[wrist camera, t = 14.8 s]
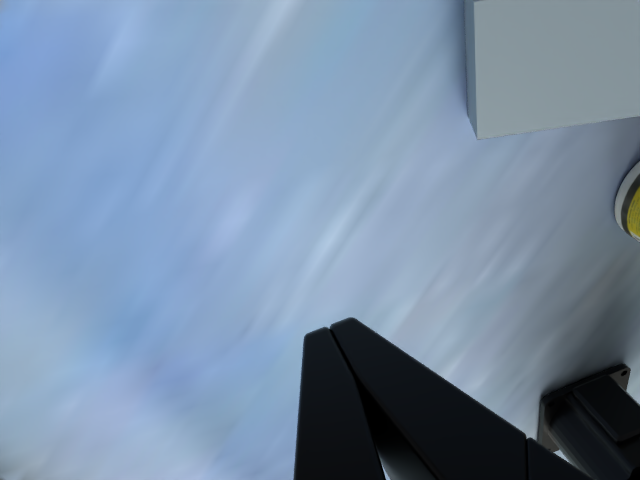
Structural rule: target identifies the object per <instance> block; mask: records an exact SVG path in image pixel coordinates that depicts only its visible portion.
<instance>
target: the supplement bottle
mask: <svg viewBox="0 0 640 480" xmlns="http://www.w3.org/2000/svg"><path fill="white" fill-rule="evenodd" d="M615 218H616V221H617V223H618V225H619V226H620V228H621V229H622V230H624V231H625V232H626V233H627V234H628V235H630V236H631V237H633V238H634V239H636V240H637V241H638V242H640V161H639V162H638V163H637V164H636V165H635V166H634V167H633V168H632V169H631V171H630V172H629V173H628V174H627V176H626V177H625V179H624V181H623V182H622V184H621V186H620V188H619V191H618V194H617V197H616V201H615Z"/></svg>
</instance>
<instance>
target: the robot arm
mask: <svg viewBox="0 0 640 480" xmlns="http://www.w3.org/2000/svg"><path fill="white" fill-rule="evenodd" d="M630 371H631V370H630V368H629V367H628V366H627V365H626V364H620V365H617V366H615V367H613V368H610V369H608V370H606V371H603V372H601V373H598V374H596V375H594V376H591V377H589V378H587V379H584V380H582V381H579V382H577V383H575V384H572V385H570V386H568V387H565V388H563V389H560V390H558V391H556V392H553V393H551V394H548V395H547V396H545V397H544V398H543V399H542V400H541V407H540V423H539V438H538V442H537V441H536V440H534V439H533V438H526V434H525V433H523V432H522V431H520V430H519V429H518V428H516V427H515V426H513V425H512V424H510V423H509V422H507V421H506V420H504V419H503V418H501V417H500V416H498V415H497V414H495V413H494V412H492V411H491V410H490V409H488V408H487V407H485V406H484V405H482V404H481V403H479V402H478V401H476V400H475V399H473V398H472V397H470V396H469V395H467V394H466V393H464V392H463V391H461V390H460V389H459V388H457V387H456V386H454V385H453V384H451V383H450V382H448V381H447V380H445V379H444V378H442V377H441V376H439V375H438V374H436V373H435V372H433V371H432V370H430V369H429V368H428V367H426V366H425V365H423V364H422V363H420V362H419V361H417V360H416V359H414V358H413V357H411V356H410V355H408V354H407V353H405V352H404V351H402V350H401V349H400V348H398V347H397V346H395V345H394V344H392V343H391V342H389V341H388V340H386V339H385V338H383V337H382V336H380V335H379V334H377V333H376V332H374V331H373V330H371V329H370V328H369V327H367V326H366V325H364V324H363V323H361V322H360V321H358V320H357V319H355V318H352V317H350V318H347V319H344V320H341V321H339V322H336V323H333V324H332V325H331V326H330V329H329V328H328V327H323V328H320V329H318V330H315V331H312V332H310V333H307V334H306V335H305V337H304V343H303V357H302V371H301V384H300V398H299V411H298V425H297V439H296V452H295V466H294V480H386V478H385V475H384V471H383V468H382V465H383V467H384V469H385V471H386V472H387V474H388V476H389V478H390V479H391V480H640V405H639V404H638V403H637V402H636V401H635V400H634V399H633V398H632V397H631V396H630V395H629V394H628V393H627V392H626V389H627V385H628V380H629V375H630ZM558 450H561V452H562V453H563V454H564V455H565V457H566V458H567V459H568V461H569V462H570V463H571V464H570V463H569V462H567V461H566V460H564V459H562V458H561V457H559V456H558V455H556V454H555V453H553V452H555V451H558ZM381 463H382V464H381Z"/></svg>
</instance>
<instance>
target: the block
mask: <svg viewBox="0 0 640 480" xmlns="http://www.w3.org/2000/svg"><path fill="white" fill-rule="evenodd" d="M464 17H465V46H466V75H467V104H468V117H469V120H470V123H471V125H472V128H473V130H474V133H475V135H476V138H477V140H480V139H487V138H493V137H500V136H507V135H514V134H521V133H528V132H534V131H541V130H548V129H555V128H562V127H569V126H575V125H582V124H589V123H596V122H603V121H610V120H616V119H623V118H630V117H637V116H640V0H464Z"/></svg>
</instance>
